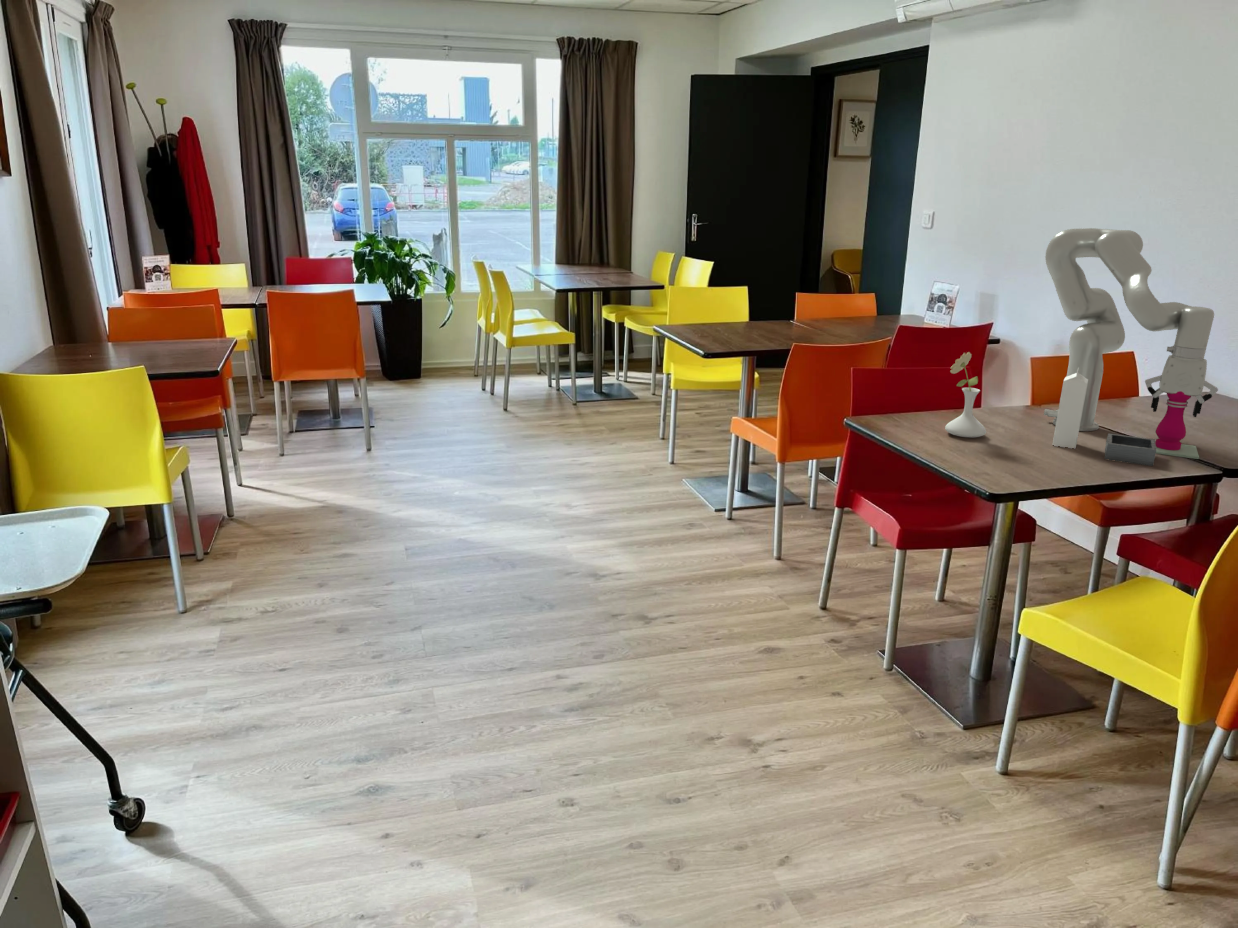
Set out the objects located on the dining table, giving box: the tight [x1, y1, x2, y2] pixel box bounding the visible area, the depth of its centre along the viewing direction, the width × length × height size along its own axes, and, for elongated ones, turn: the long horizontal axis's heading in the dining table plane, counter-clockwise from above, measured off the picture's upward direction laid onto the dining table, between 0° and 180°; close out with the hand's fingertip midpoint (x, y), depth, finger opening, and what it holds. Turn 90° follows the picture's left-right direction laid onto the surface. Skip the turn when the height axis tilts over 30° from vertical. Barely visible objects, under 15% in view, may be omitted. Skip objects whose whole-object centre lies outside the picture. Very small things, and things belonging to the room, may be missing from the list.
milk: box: [1052, 368, 1088, 450], centre depth 249 cm, size 6×6×22 cm
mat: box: [1155, 440, 1200, 460], centre depth 249 cm, size 14×12×1 cm
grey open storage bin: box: [1104, 433, 1156, 467], centre depth 241 cm, size 11×11×4 cm
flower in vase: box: [944, 351, 987, 438], centre depth 256 cm, size 13×11×25 cm
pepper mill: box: [1155, 391, 1192, 450], centre depth 246 cm, size 7×7×20 cm
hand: (1174, 413), depth 246 cm, fingers open, 9 cm apart
